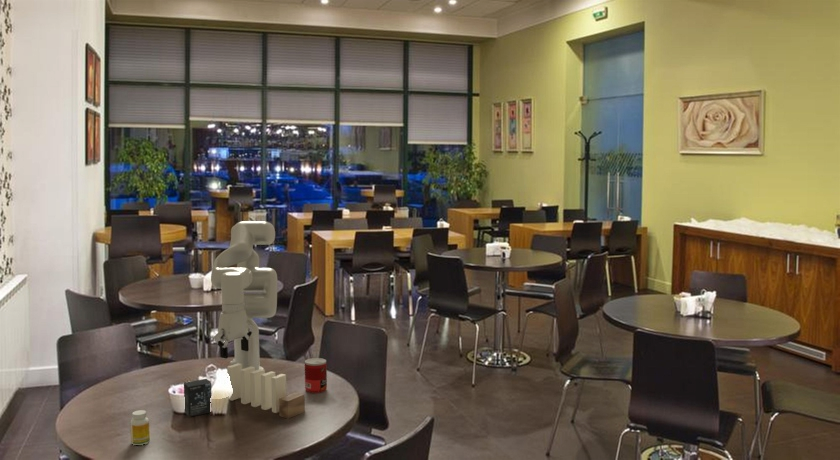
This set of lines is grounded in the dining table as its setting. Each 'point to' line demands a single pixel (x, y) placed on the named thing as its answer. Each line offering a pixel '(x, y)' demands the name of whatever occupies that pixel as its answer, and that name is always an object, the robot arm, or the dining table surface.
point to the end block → (291, 405)
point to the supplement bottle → (139, 428)
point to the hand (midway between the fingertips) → (234, 354)
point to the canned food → (315, 375)
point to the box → (197, 397)
